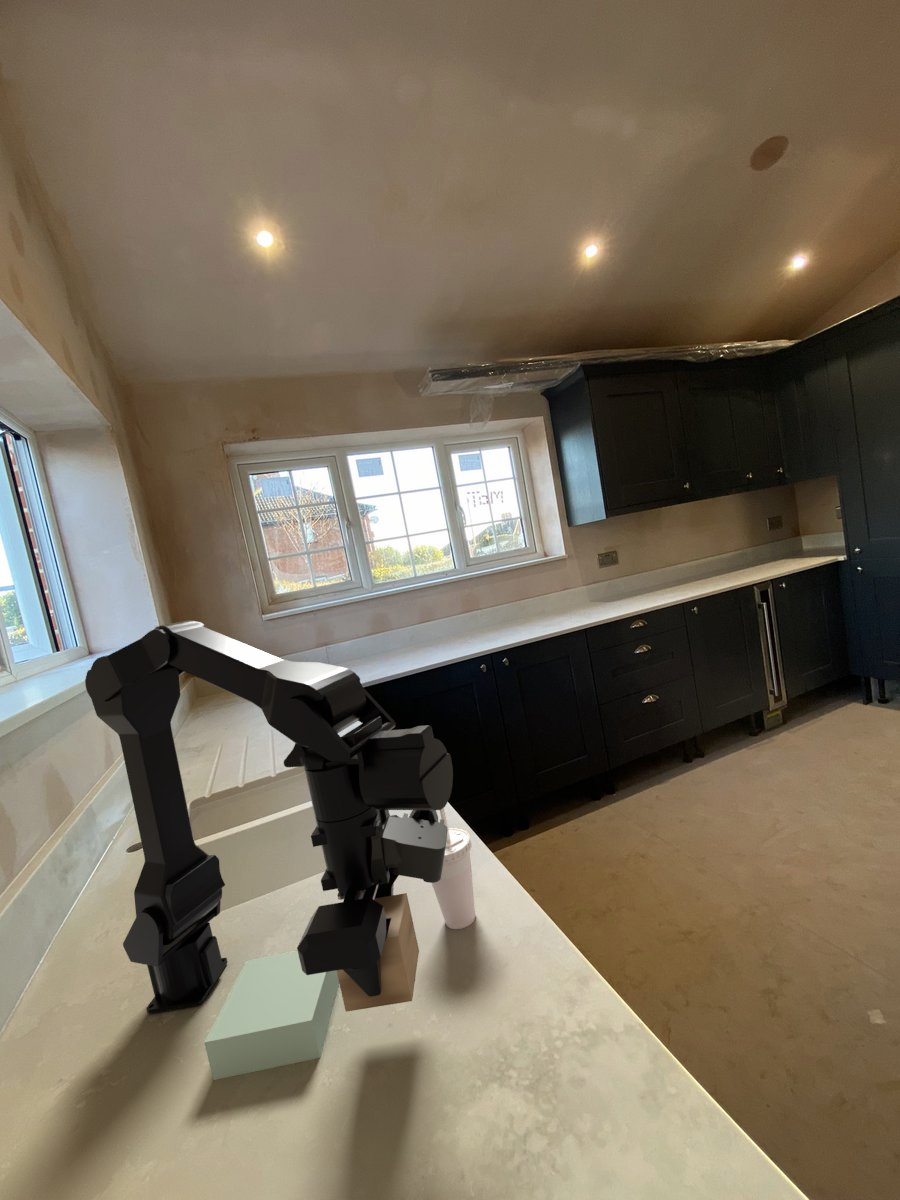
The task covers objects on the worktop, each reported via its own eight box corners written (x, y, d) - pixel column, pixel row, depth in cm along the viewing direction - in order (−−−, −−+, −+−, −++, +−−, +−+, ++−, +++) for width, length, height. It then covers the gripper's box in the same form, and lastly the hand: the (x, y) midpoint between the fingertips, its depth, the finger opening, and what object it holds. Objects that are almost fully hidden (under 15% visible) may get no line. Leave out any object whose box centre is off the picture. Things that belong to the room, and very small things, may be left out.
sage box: (214, 1083, 47) (204, 1042, 47) (254, 994, 57) (246, 960, 57) (321, 1061, 47) (311, 1020, 47) (342, 976, 57) (334, 942, 57)
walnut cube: (345, 1011, 45) (331, 947, 45) (360, 960, 51) (347, 903, 51) (412, 1001, 45) (398, 936, 45) (419, 950, 51) (406, 893, 51)
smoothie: (482, 936, 58) (457, 818, 58) (428, 938, 60) (403, 823, 59) (489, 899, 65) (467, 792, 64) (440, 902, 66) (418, 797, 65)
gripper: (422, 845, 38) (464, 1045, 39) (438, 754, 56) (467, 890, 57) (275, 871, 38) (320, 1067, 39) (339, 772, 57) (369, 907, 58)
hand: (381, 966), depth 48 cm, fingers closed on walnut cube, 6 cm apart
